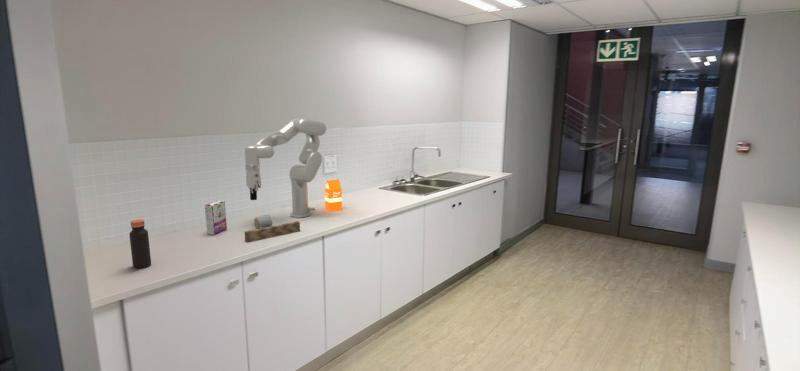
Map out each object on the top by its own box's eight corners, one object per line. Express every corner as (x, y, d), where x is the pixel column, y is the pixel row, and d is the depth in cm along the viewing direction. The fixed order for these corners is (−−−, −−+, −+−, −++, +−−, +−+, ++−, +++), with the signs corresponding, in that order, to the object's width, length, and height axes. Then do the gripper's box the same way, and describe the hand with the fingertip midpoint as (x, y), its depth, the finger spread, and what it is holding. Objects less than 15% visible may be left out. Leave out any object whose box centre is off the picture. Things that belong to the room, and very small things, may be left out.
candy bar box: (219, 228, 240) (217, 200, 237) (227, 229, 239) (225, 200, 236) (206, 234, 229) (204, 204, 226) (214, 235, 228) (212, 205, 225)
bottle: (142, 262, 189) (138, 218, 186) (155, 264, 188) (150, 219, 184) (129, 267, 183) (124, 222, 179) (141, 269, 181) (136, 223, 177)
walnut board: (297, 229, 240) (297, 221, 239) (300, 230, 238) (299, 222, 237) (245, 241, 220) (244, 231, 219) (247, 242, 218) (246, 232, 217)
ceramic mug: (253, 228, 242) (253, 215, 240) (268, 225, 247) (267, 212, 245) (260, 233, 233) (260, 219, 232) (275, 230, 238) (274, 217, 237)
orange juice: (342, 210, 285) (341, 180, 281) (330, 211, 280) (329, 181, 276) (336, 207, 291) (336, 178, 287) (324, 209, 286) (324, 179, 282)
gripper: (264, 168, 239) (265, 201, 243) (253, 165, 250) (254, 196, 253) (251, 169, 234) (252, 202, 238) (240, 166, 245) (241, 198, 248)
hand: (253, 199), depth 246 cm, fingers closed
